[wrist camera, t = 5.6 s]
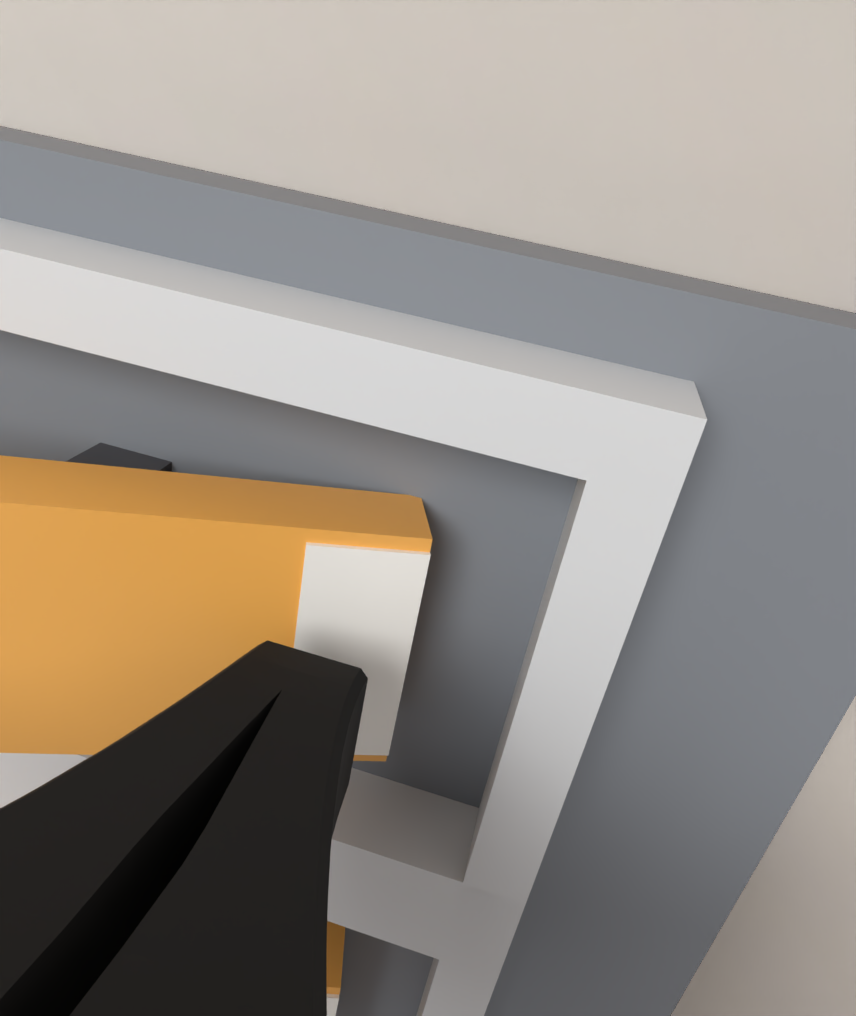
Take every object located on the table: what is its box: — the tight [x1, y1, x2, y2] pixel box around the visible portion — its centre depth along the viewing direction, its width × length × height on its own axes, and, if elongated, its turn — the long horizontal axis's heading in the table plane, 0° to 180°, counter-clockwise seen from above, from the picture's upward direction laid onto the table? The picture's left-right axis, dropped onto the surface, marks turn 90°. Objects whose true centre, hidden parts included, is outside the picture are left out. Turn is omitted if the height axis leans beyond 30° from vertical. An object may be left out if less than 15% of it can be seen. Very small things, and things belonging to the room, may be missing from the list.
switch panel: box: [0, 126, 856, 1016], centre depth 14 cm, size 22×20×3 cm
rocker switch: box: [0, 455, 433, 761], centre depth 10 cm, size 10×4×1 cm, turn 79°
